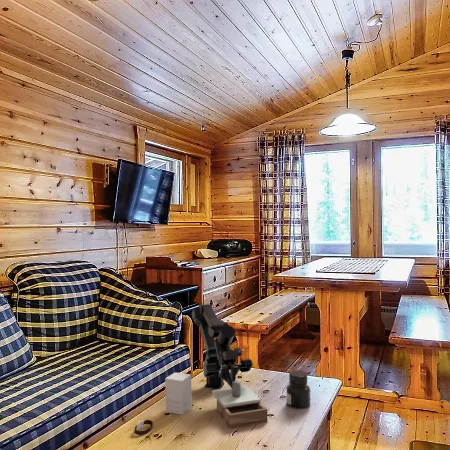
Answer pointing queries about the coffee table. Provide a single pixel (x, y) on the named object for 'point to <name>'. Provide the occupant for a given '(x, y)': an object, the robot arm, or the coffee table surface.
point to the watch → (139, 426)
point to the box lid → (235, 395)
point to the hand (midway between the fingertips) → (233, 388)
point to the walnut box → (243, 414)
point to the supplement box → (178, 393)
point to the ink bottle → (298, 390)
